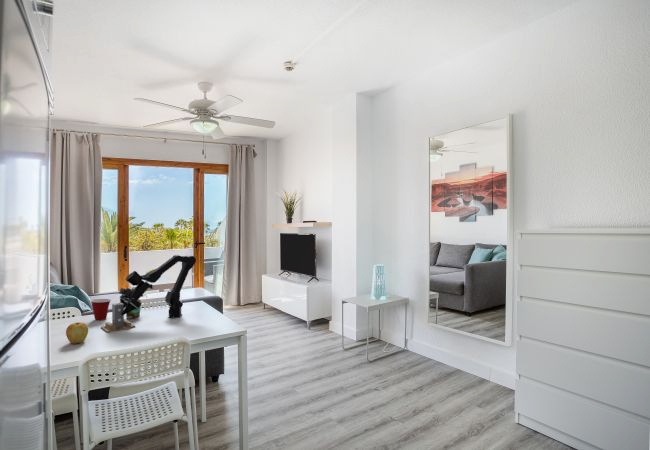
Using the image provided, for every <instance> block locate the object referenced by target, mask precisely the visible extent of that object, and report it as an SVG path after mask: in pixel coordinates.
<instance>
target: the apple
mask: <svg viewBox="0 0 650 450" xmlns="http://www.w3.org/2000/svg"><path fill="white" fill-rule="evenodd" d="M88 333H89V327H88V325H87V324H86V323H85V322H77V321H76V322H73V323H70V324H69V325H68V326H67V327H66V330H65V336H66V338H67V340H68V341H69V343H70V344H80V343H83V342H84V341H86V338H87V336H88V335H89V334H88Z"/></svg>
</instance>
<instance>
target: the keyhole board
mask: <svg viewBox="0 0 650 450" xmlns="http://www.w3.org/2000/svg"><path fill="white" fill-rule="evenodd" d="M133 328H136V325H134V324H133V323H132V322H131V321H129V320H128V319H127V318H126V319H125V318H124V326H123V327H118V328H115V325H114V324H112V322H110V321H105V322H104V325H103V326H100V329H102V330H103V331H104V332H106V334H107V333H114V332H118V331H123V330H129V329H133Z"/></svg>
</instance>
